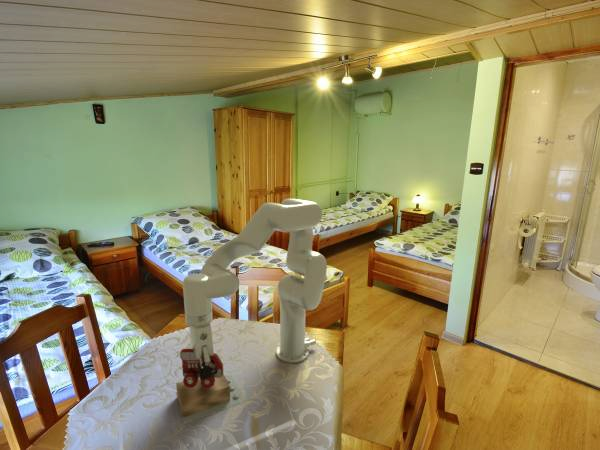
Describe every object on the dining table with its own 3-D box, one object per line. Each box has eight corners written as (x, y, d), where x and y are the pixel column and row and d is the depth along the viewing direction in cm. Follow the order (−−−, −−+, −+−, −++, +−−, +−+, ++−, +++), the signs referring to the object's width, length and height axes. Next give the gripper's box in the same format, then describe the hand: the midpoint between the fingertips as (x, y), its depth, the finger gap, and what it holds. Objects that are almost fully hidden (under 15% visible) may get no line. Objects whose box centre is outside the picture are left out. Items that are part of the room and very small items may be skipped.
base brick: (221, 382, 107) (221, 369, 106) (230, 400, 99) (229, 386, 98) (177, 397, 100) (176, 383, 99) (182, 417, 92) (181, 402, 91)
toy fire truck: (220, 388, 95) (218, 357, 92) (178, 388, 95) (175, 356, 92) (225, 372, 101) (224, 343, 99) (186, 372, 101) (184, 342, 99)
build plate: (231, 377, 111) (231, 372, 111) (245, 404, 99) (245, 399, 99) (176, 395, 102) (175, 391, 102) (184, 427, 90) (184, 422, 90)
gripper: (220, 327, 88) (222, 382, 92) (204, 301, 103) (207, 350, 106) (191, 334, 84) (195, 391, 88) (180, 306, 99) (183, 356, 103)
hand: (202, 368), depth 97 cm, fingers closed on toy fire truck, 8 cm apart
